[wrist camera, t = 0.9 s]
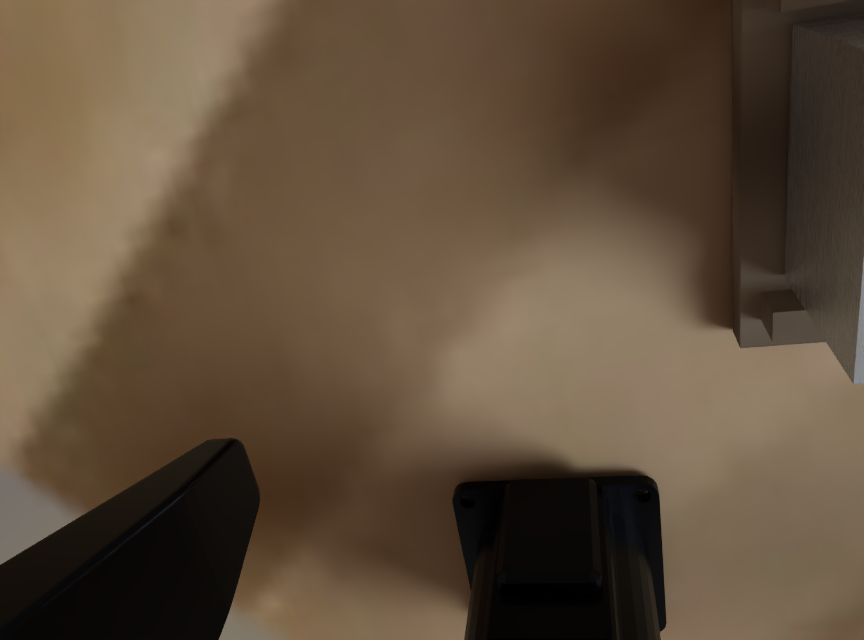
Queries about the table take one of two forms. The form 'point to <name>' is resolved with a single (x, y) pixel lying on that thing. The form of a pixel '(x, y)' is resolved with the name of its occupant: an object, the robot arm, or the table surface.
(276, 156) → the table surface
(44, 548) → the robot arm
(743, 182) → the guide board
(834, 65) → the block
